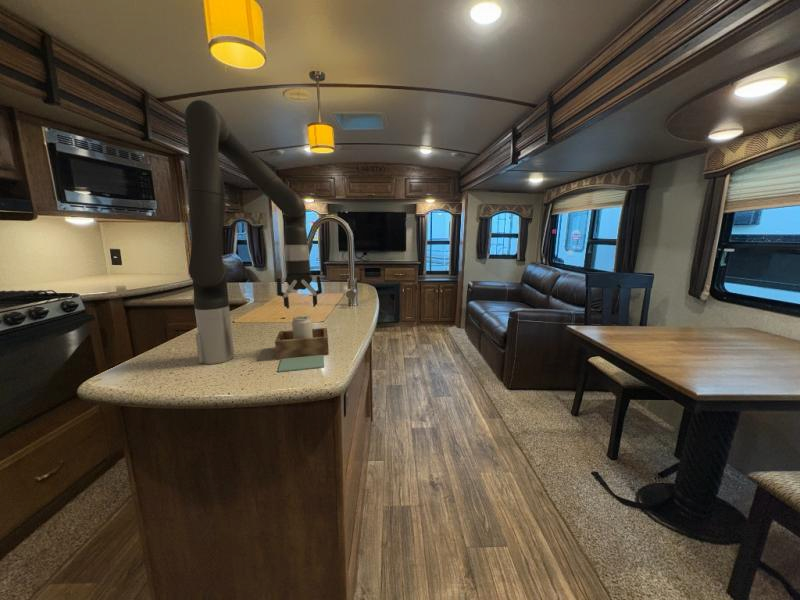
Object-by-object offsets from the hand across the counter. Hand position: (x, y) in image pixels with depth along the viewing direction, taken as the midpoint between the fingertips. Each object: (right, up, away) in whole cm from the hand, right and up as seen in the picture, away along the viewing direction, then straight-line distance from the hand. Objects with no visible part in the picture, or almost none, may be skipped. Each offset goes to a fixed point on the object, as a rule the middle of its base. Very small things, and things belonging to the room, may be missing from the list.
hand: (301, 307), depth 104 cm
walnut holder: (0, -15, +3) cm, 16 cm away
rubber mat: (+3, -17, -9) cm, 20 cm away
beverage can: (0, -15, +3) cm, 16 cm away
